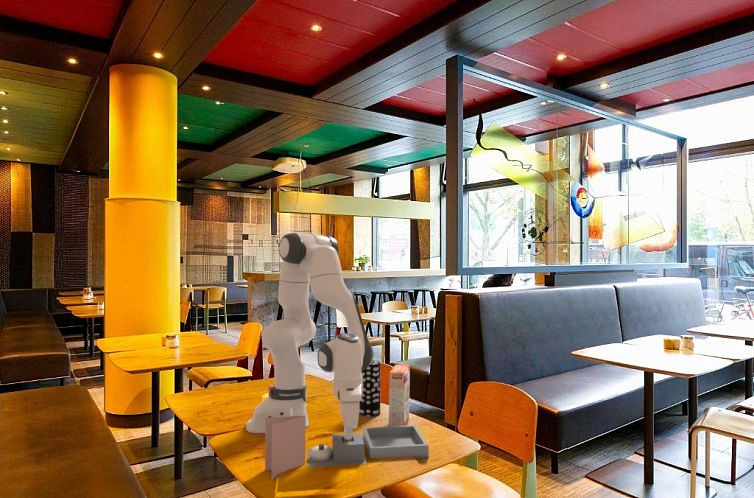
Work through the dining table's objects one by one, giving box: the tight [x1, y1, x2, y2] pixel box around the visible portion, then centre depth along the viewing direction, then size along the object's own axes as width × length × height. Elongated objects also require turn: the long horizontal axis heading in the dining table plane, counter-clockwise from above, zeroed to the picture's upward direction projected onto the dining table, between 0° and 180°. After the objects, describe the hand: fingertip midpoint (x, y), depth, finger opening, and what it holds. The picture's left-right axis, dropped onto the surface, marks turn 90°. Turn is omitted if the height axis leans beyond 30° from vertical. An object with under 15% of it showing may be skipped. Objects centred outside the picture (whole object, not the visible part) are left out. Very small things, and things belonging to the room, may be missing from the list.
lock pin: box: [341, 421, 352, 442], centre depth 146 cm, size 4×4×10 cm
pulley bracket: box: [307, 432, 367, 468], centre depth 146 cm, size 17×13×6 cm
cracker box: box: [388, 364, 411, 426], centre depth 176 cm, size 14×6×21 cm, turn 168°
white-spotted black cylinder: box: [359, 359, 382, 418], centre depth 190 cm, size 8×8×20 cm
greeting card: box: [264, 416, 306, 480], centre depth 137 cm, size 11×7×15 cm, turn 100°
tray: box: [362, 424, 430, 460], centre depth 154 cm, size 18×18×4 cm
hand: (347, 433), depth 146 cm, fingers open, 5 cm apart
